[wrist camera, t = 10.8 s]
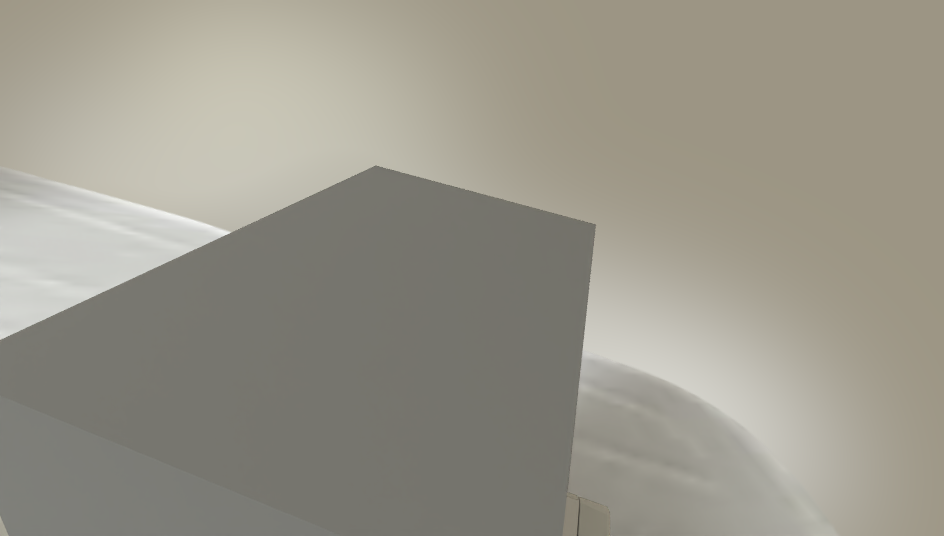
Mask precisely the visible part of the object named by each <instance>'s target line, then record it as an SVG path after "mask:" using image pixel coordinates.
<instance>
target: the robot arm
mask: <svg viewBox="0 0 944 536" xmlns="http://www.w3.org/2000/svg"><path fill="white" fill-rule="evenodd" d="M0 536H9V535H8V533H7V531H6V528H5V526H4V524H3V521H2V519H1V517H0ZM563 536H610V512H609V510H608V507H606V506H603V505H601V504H598V503H595V502H592V501H590V500H587V499H584V498H581V497H578V496H577V495H574V494H571V493H568V492H567V499H566V508H565V518H564V527H563Z"/></svg>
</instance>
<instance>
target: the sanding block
mask: <svg viewBox="0 0 944 536" xmlns="http://www.w3.org/2000/svg"><path fill="white" fill-rule="evenodd" d="M595 226H596V225H595V224H592V223H588V222H584V221H580V220H577V219H573V218H569V217H566V216H562V215H558V214H554V213H550V212H547V211H543V210H540V209H536V208H532V207H528V206H524V205H520V204H517V203H513V202H510V201H506V200H502V199H498V198H494V197H491V196H487V195H483V194H479V193H476V192H472V191H469V190H465V189H461V188H457V187H454V186H450V185H446V184H442V183H438V182H435V181H431V180H427V179H424V178H420V177H416V176H412V175H409V174H405V173H401V172H398V171H394V170H390V169H386V168H383V167H379V166H374V167H372V168H370V169H368V170H366V171H363V172H361V173H359V174H357V175H355V176H352V177H350V178H348V179H346V180H344V181H342V182H340V183H337V184H335V185H333V186H331V187H329V188H327V189H324V190H322V191H320V192H318V193H316V194H314V195H312V196H309V197H307V198H305V199H303V200H301V201H299V202H297V203H294V204H292V205H290V206H288V207H286V208H284V209H282V210H279V211H277V212H275V213H273V214H271V215H269V216H266V217H264V218H262V219H260V220H258V221H256V222H253V223H251V224H249V225H247V226H245V227H243V228H241V229H238V230H236V231H234V232H232V233H230V234H228V235H225V236H223V237H221V238H219V239H217V240H215V241H213V242H210V243H208V244H206V245H204V246H202V247H200V248H197V249H195V250H193V251H191V252H189V253H187V254H185V255H182V256H180V257H178V258H176V259H174V260H172V261H169V262H167V263H165V264H163V265H161V266H159V267H157V268H154V269H152V270H150V271H148V272H146V273H144V274H142V275H139V276H137V277H135V278H133V279H131V280H129V281H126V282H124V283H122V284H120V285H118V286H116V287H114V288H111V289H109V290H107V291H105V292H103V293H101V294H98V295H96V296H94V297H92V298H90V299H88V300H86V301H83V302H81V303H79V304H77V305H75V306H73V307H70V308H68V309H66V310H64V311H62V312H60V313H58V314H55V315H53V316H51V317H49V318H47V319H45V320H42V321H40V322H38V323H36V324H34V325H32V326H30V327H27V328H25V329H23V330H21V331H19V332H17V333H15V334H12V335H10V336H8V337H6V338H4V339H2V340H0V517H1V519H2V521H3V524H4V526H5V528H6V531H7V533H8V535H9V536H563V527H564V518H565V508H566V499H567V490H568V480H569V471H570V461H571V452H572V443H573V433H574V424H575V415H576V405H577V396H578V386H579V377H580V368H581V358H582V349H583V339H584V330H585V321H586V311H587V302H588V292H589V282H590V274H591V264H592V254H593V246H594V236H595Z"/></svg>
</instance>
